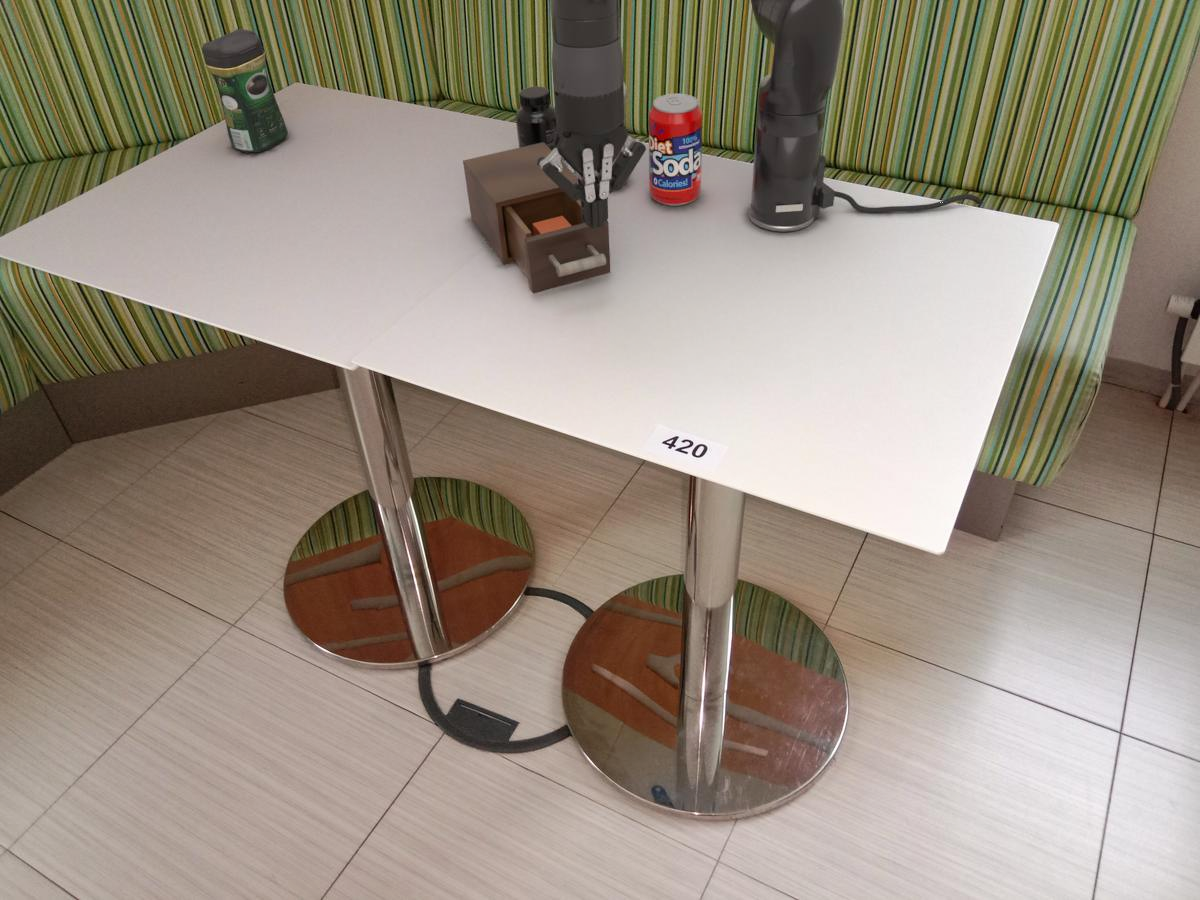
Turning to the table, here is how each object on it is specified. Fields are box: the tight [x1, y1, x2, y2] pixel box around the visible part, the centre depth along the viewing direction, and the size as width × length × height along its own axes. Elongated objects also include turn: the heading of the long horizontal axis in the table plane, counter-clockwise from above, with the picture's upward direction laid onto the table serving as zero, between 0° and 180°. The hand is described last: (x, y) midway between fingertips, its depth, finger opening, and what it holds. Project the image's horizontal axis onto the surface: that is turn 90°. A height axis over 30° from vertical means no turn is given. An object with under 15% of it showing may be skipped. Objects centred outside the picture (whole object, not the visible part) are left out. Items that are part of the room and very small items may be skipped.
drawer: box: [502, 192, 611, 294], centre depth 131 cm, size 18×11×8 cm, turn 24°
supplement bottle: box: [515, 85, 563, 162], centre depth 156 cm, size 7×7×12 cm
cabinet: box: [462, 142, 577, 265], centre depth 140 cm, size 15×13×10 cm
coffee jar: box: [201, 28, 288, 154], centre depth 165 cm, size 10×8×19 cm
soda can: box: [648, 93, 704, 207], centre depth 144 cm, size 8×8×15 cm
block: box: [532, 216, 571, 236], centre depth 132 cm, size 4×4×4 cm
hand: (594, 225), depth 115 cm, fingers closed
